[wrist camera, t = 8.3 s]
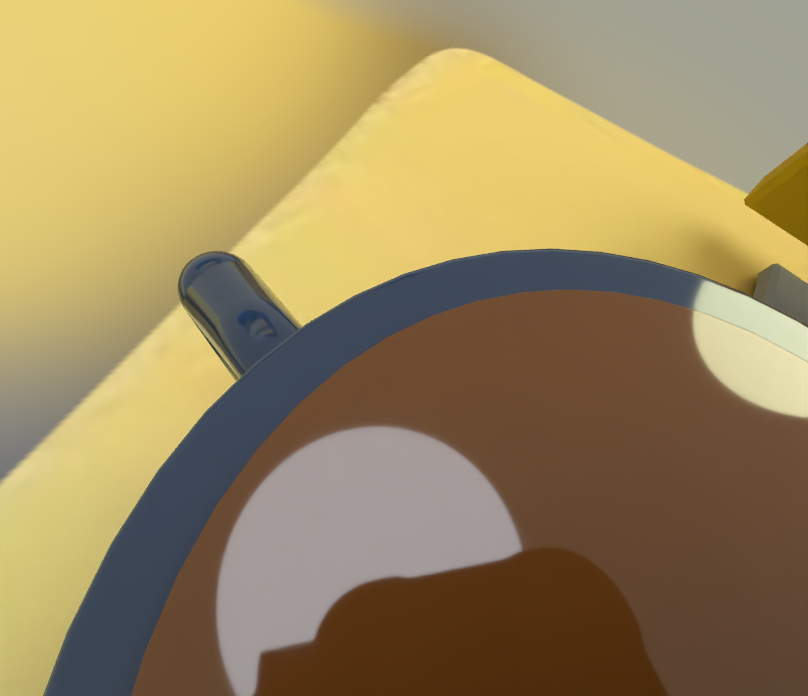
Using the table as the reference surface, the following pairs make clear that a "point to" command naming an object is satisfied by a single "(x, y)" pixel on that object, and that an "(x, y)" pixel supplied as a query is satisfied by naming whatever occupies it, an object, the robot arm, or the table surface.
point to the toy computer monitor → (796, 214)
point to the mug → (472, 494)
